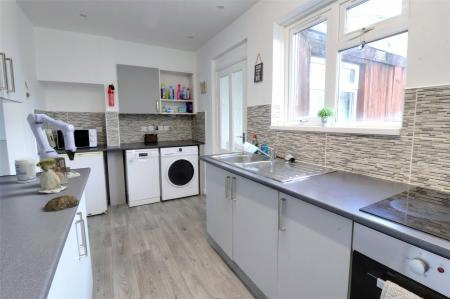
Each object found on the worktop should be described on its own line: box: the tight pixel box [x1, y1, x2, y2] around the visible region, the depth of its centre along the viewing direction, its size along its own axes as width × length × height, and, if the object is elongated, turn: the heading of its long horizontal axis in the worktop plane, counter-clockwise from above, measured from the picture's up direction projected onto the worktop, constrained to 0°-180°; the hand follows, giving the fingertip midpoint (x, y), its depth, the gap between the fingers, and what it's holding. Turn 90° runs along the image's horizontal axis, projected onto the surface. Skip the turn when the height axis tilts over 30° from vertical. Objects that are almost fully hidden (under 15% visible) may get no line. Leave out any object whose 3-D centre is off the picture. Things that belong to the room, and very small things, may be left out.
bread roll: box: [44, 195, 80, 212], centre depth 104 cm, size 13×12×5 cm
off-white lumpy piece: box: [35, 158, 67, 194], centre depth 124 cm, size 12×13×18 cm
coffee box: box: [51, 156, 69, 186], centre depth 138 cm, size 9×6×16 cm
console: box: [67, 169, 81, 179], centre depth 158 cm, size 16×13×4 cm
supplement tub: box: [14, 157, 38, 184], centre depth 145 cm, size 10×10×15 cm
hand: (71, 160), depth 162 cm, fingers closed
